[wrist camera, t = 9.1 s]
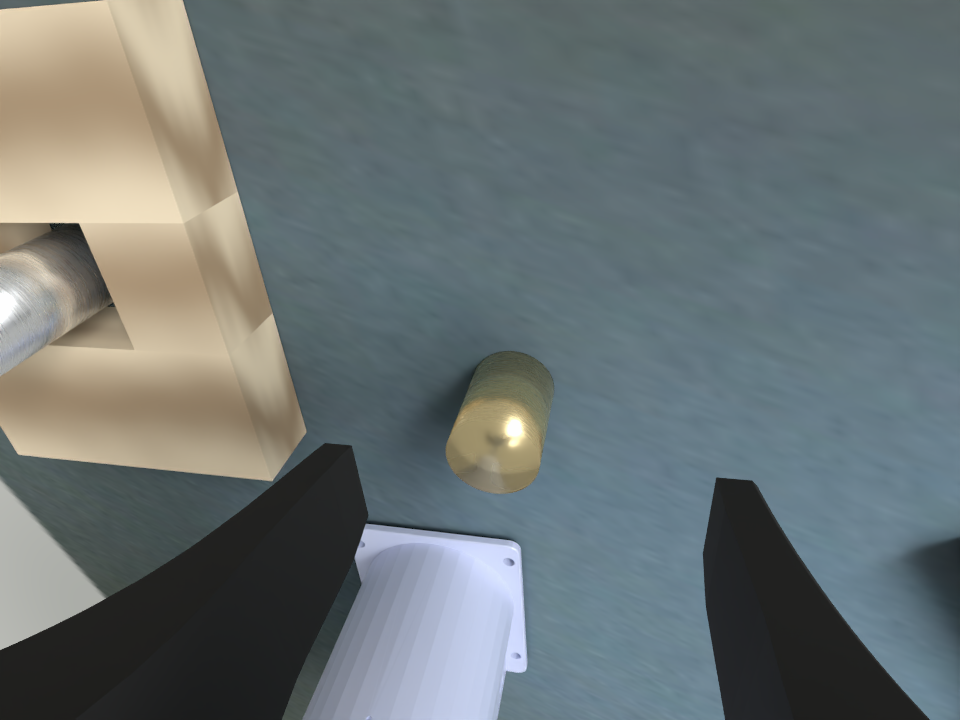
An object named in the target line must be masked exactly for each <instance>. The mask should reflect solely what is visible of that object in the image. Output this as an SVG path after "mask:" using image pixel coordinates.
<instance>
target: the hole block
mask: <svg viewBox="0 0 960 720" xmlns="http://www.w3.org/2000/svg"><path fill="white" fill-rule="evenodd" d="M49 223H79V224H80V227H81V229H82V231H83V233H84V236H85V238H86V240H87V243H88V245H89V247H90V249H91V252H92V254H93V256H94V259H95V261H96V263H97V265H98V268H99V270H100V272H101V275H102V277H103V279H104V281H105V284H106V286H107V288H108V290H109V293H110V295H111V297H112V300H113V302H114V304H115V306H116V307H105V308H103V309H102V310H100V311H99V312H97V313H96V314H94V315H93V316H91V317H90V318H88V319H87V320H85V321H84V322H82V323H81V324H79V325H78V326H76V327H75V328H73V329H72V330H70V331H69V332H67V333H65V334H64V335H62V336H61V337H59V338H58V339H56V340H55V341H53V342H52V343H50V344H49V345H47V346H46V347H44V348H43V349H41V350H40V351H38V352H37V353H35V354H34V355H32V356H31V357H29V358H27V359H26V360H24V361H23V362H21V363H20V364H18V365H17V366H15V367H14V368H12V369H11V370H9V371H8V372H6V373H5V374H3V375H2V376H0V426H1V427H2V429H3V431H4V432H5V434H6V435H7V437H8V439H9V440H10V442H11V444H12V445H13V447H14V448H15V450H16V452H17V453H18V455H26V456H36V457H45V458H55V459H65V460H74V461H84V462H93V463H103V464H113V465H122V466H132V467H141V468H151V469H161V470H170V471H180V472H189V473H199V474H209V475H218V476H228V477H237V478H247V479H257V480H266V481H273V480H274V478H275V477H276V475H277V474H278V472H279V471H280V469H281V468H282V467H283V465H284V464H285V462H286V461H287V459H288V458H289V457H290V455H291V454H292V452H293V451H294V449H295V448H296V447H297V445H298V444H299V442H300V441H301V439H302V438H303V436H304V435H305V434H306V432H307V431H306V427H305V424H304V421H303V417H302V414H301V410H300V407H299V403H298V400H297V396H296V393H295V389H294V386H293V382H292V379H291V375H290V372H289V368H288V365H287V361H286V358H285V354H284V351H283V347H282V344H281V341H280V337H279V334H278V330H277V327H276V323H275V320H274V316H273V313H272V309H271V306H270V302H269V299H268V295H267V292H266V288H265V285H264V281H263V278H262V274H261V271H260V267H259V264H258V261H257V257H256V254H255V250H254V247H253V243H252V240H251V236H250V233H249V229H248V226H247V222H246V219H245V215H244V212H243V208H242V205H241V201H240V198H239V194H238V191H237V187H236V184H235V181H234V177H233V174H232V170H231V167H230V163H229V160H228V156H227V153H226V149H225V146H224V142H223V139H222V135H221V132H220V128H219V125H218V121H217V118H216V114H215V111H214V107H213V104H212V101H211V97H210V94H209V90H208V87H207V83H206V80H205V76H204V73H203V69H202V66H201V62H200V59H199V55H198V52H197V48H196V45H195V41H194V38H193V34H192V31H191V27H190V24H189V21H188V17H187V14H186V10H185V7H184V3H183V0H103V1H92V2H81V3H70V4H59V5H47V6H36V7H25V8H14V9H3V10H0V254H2V253H4V252H6V251H8V250H10V249H12V248H15V247H17V246H19V245H21V244H23V243H25V242H27V241H30V240H32V239H34V238H36V237H38V236H40V235H42V234H45V233H47V232H49V231H51V230H52V229H51V227H50V225H49Z"/></svg>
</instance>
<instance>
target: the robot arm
mask: <svg viewBox="0 0 960 720" xmlns="http://www.w3.org/2000/svg"><path fill="white" fill-rule="evenodd" d="M367 518H368V511H367V507H366V503H365V499H364V495H363V491H362V487H361V482H360V478H359V474H358V470H357V466H356V462H355V458H354V453H353V449H352V446H350V445H339V444H327V443H325V444H323V445H322V446H321V447H319V448H318V449H317V450H316V451H314V452H313V453H312V454H311V455H309V456H308V457H307V458H306V459H304V460H303V461H302V462H301V463H299V464H298V465H297V466H296V467H295V468H293V469H292V470H291V471H290V472H289V473H287V474H286V475H285V476H284V477H282V478H281V479H280V480H279V481H278V482H276V483H275V484H274V485H273V486H271V487H270V488H269V489H268V490H266V491H265V492H264V493H263V494H261V495H260V496H259V497H258V498H256V499H255V500H254V501H253V502H251V503H250V504H249V505H248V506H246V507H245V508H244V509H243V510H241V511H240V512H239V513H237V514H236V515H235V516H233V517H232V518H230V519H229V520H228V521H226V522H225V523H224V524H222V525H221V526H220V527H218V528H217V529H216V530H214V531H213V532H211V533H210V534H209V535H207V536H206V537H205V538H203V539H202V540H201V541H199V542H198V543H196V544H195V545H193V546H192V547H191V548H189V549H188V550H186V551H185V552H183V553H182V554H180V555H179V556H177V557H176V558H174V559H172V560H171V561H169V562H168V563H166V564H164V565H163V566H161V567H160V568H158V569H157V570H155V571H153V572H152V573H150V574H149V575H147V576H145V577H144V578H142V579H140V580H139V581H137V582H135V583H133V584H131V585H130V586H128V587H126V588H124V589H122V590H121V591H119V592H117V593H115V594H113V595H112V596H110V597H108V598H106V599H104V600H103V601H101V602H99V603H97V604H95V605H94V606H92V607H90V608H88V609H86V610H84V611H82V612H81V613H79V614H76V615H74V616H72V617H70V618H69V619H66V620H64V621H62V622H60V623H58V624H56V625H54V626H52V627H50V628H48V629H46V630H44V631H42V632H39V633H37V634H35V635H33V636H31V637H29V638H27V639H24V640H22V641H20V642H18V643H16V644H13V645H11V646H9V647H7V648H4V649H2V650H0V720H282V717H283V715H284V712H285V709H286V707H287V704H288V701H289V698H290V696H291V693H292V690H293V688H294V685H295V682H296V680H297V678H298V675H299V673H300V671H301V669H302V666H303V664H304V662H305V659H306V657H307V655H308V653H309V651H310V649H311V647H312V645H313V643H314V641H315V639H316V637H317V635H318V633H319V631H320V629H321V627H322V624H323V622H324V620H325V618H326V616H327V614H328V612H329V610H330V608H331V606H332V604H333V602H334V600H335V598H336V596H337V594H338V592H339V590H340V588H341V585H342V583H343V581H344V579H345V577H346V575H347V573H348V571H349V569H350V567H351V564H352V562H353V560H354V558H355V561H356V565H357V569H358V572H359V576H360V580H361V583H362V585H361V587H360V589H359V592H358V594H357V596H356V599H355V601H354V603H353V605H352V608H351V610H350V612H349V614H348V617H347V619H346V621H345V624H344V626H343V628H342V630H341V633H340V635H339V637H338V639H337V642H336V644H335V646H334V649H333V651H332V653H331V655H330V658H329V660H328V662H327V664H326V667H325V669H324V671H323V674H322V676H321V678H320V680H319V683H318V685H317V687H316V689H315V692H314V694H313V696H312V699H311V701H310V703H309V705H308V708H307V710H306V712H305V714H304V717H303V719H302V720H497V717H498V712H499V707H500V701H501V696H502V690H503V685H504V680H505V674H506V671H511V672H517V673H521V672H524V671H525V670H526V668H527V648H526V630H525V612H524V595H523V577H522V560H521V548H520V546H519V545H518V544H517V543H515V542H514V541H510V540H503V539H494V538H486V537H477V536H469V535H460V534H451V533H443V532H434V531H426V530H417V529H408V528H400V527H391V526H383V525H374V524H366V521H367ZM509 558H510V559H509ZM703 563H704V583H705V599H706V610H707V616H708V622H709V628H710V634H711V640H712V646H713V652H714V657H715V663H716V669H717V675H718V681H719V686H720V692H721V698H722V704H723V710H724V715H725V720H930V719H929V718H928V717H927V716H926V715H925V714H924V713H923V712H922V711H921V710H920V708H919V707H918V706H917V705H916V704H915V703H914V702H913V701H912V700H911V699H910V698H909V697H908V695H907V694H906V693H905V692H904V691H903V690H902V689H901V688H900V687H899V685H898V684H897V683H896V682H895V681H894V680H893V678H892V677H891V676H890V675H889V674H888V673H887V672H886V670H885V669H884V668H883V667H882V666H881V665H880V663H879V662H878V661H877V660H876V659H875V657H874V656H873V655H872V654H871V653H870V651H869V650H868V649H867V648H866V647H865V645H864V644H863V643H862V642H861V640H860V639H859V638H858V637H857V635H856V634H855V633H854V632H853V630H852V629H851V628H850V626H849V625H848V624H847V622H846V621H845V620H844V618H843V617H842V616H841V615H840V613H839V612H838V611H837V609H836V608H835V607H834V605H833V604H832V603H831V601H830V600H829V598H828V597H827V596H826V594H825V593H824V592H823V590H822V589H821V587H820V586H819V584H818V583H817V582H816V580H815V579H814V577H813V576H812V574H811V573H810V571H809V570H808V568H807V567H806V566H805V564H804V563H803V561H802V560H801V558H800V557H799V555H798V554H797V552H796V551H795V549H794V548H793V546H792V544H791V543H790V541H789V540H788V538H787V537H786V535H785V533H784V532H783V530H782V528H781V527H780V525H779V524H778V522H777V520H776V519H775V517H774V515H773V514H772V512H771V510H770V508H769V507H768V505H767V503H766V501H765V499H764V498H763V496H762V494H761V492H760V490H759V488H758V487H757V485H756V484H755V483H754V482H753V481H750V480H738V479H727V478H716V483H715V488H714V494H713V500H712V505H711V511H710V517H709V522H708V528H707V534H706V539H705V545H704V551H703Z"/></svg>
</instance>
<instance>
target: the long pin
mask: <svg viewBox="0 0 960 720" xmlns="http://www.w3.org/2000/svg"><path fill="white" fill-rule="evenodd" d="M111 303H113V300H112V297H111V295H110V293H109V290H108V288H107V286H106V284H105V281H104V279H103V277H102V275H101V272H100V270H99V268H98V265H97V263H96V261H95V259H94V256H93V254H92V252H91V249H90V247H89V245H88V243H87V240H86V238H85V236H84V233H83V231H82V229H81V227H80V224H79V223H66V224H64V225H62V226H60V227H57V228H55V229H53V230H51V231H49V232H47V233H45V234H42V235H40V236H38V237H36V238H34V239H32V240H30V241H27V242H25V243H23V244H21V245H19V246H17V247H15V248H12V249H10V250H8V251H6V252H4V253H2V254H0V376H2V375H3V374H5V373H6V372H8V371H9V370H11V369H12V368H14V367H15V366H17V365H18V364H20V363H21V362H23V361H24V360H26V359H27V358H29V357H31V356H32V355H34V354H35V353H37V352H38V351H40V350H41V349H43V348H44V347H46V346H47V345H49V344H50V343H52V342H53V341H55V340H56V339H58V338H59V337H61V336H62V335H64V334H65V333H67V332H69V331H70V330H72V329H73V328H75V327H76V326H78V325H79V324H81V323H82V322H84V321H85V320H87V319H88V318H90V317H91V316H93V315H94V314H96V313H97V312H99V311H100V310H102V309H103V308H105V307H106V306H108V305H110V304H111Z"/></svg>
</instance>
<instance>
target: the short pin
mask: <svg viewBox="0 0 960 720" xmlns="http://www.w3.org/2000/svg"><path fill="white" fill-rule="evenodd" d="M553 395H554V383H553V379H552V377H551V375H550V373H549V371H548V370H547V369H546V367H545V366H544V365H543V364H542V363H541V362H539V361H538V360H537V359H535V358H533V357H531V356H529V355H527V354H524V353H520V352H514V351H504V352H498V353H495V354H492V355H490V356H488V357H486V358H485V359H484V360H483V361H482V362H481V363H480V364H479V365H478V366H477V368H476V370H475V373H474V375H473V378H472V380H471V383H470V385H469V388H468V390H467V393H466V396H465V398H464V401H463V403H462V406H461V408H460V411H459V413H458V416H457V418H456V421H455V424H454V426H453V429H452V431H451V434H450V436H449V439H448V441H447V445H446V457H447V461H448V463H449V465H450V467H451V469H452V470H453V472H454V473H455V474H456V475H457V476H458V477H459V478H460V479H461V480H462V481H464V482H465V483H467V484H468V485H470V486H472V487H474V488H476V489H478V490H481V491H485V492H489V493H496V494H506V493H513V492H516V491H519V490H522V489H524V488H525V487H527V486H528V485H530V484H531V483H532V482H533V481H534V479H535V478H536V476H537V474H538V471H539V467H540V462H541V457H542V452H543V446H544V441H545V436H546V431H547V426H548V421H549V415H550V410H551V405H552V400H553Z"/></svg>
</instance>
